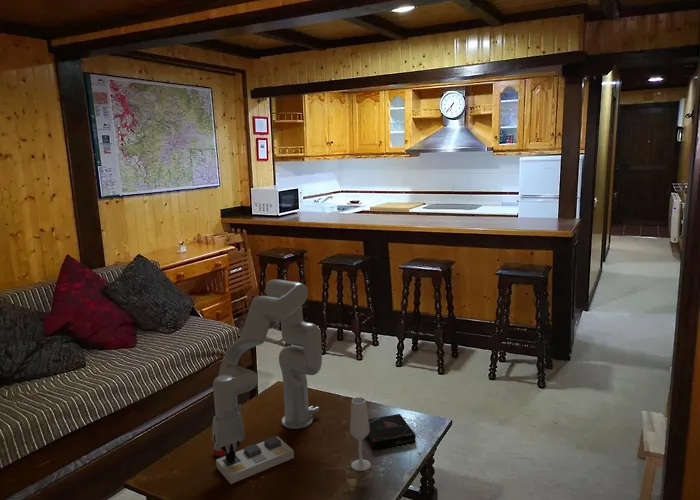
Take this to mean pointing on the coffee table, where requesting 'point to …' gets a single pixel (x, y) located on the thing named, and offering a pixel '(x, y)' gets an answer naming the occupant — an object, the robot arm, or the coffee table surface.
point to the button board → (254, 461)
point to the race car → (220, 452)
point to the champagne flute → (359, 429)
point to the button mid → (252, 450)
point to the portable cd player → (389, 432)
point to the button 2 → (272, 443)
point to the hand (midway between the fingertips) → (230, 460)
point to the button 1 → (232, 462)
